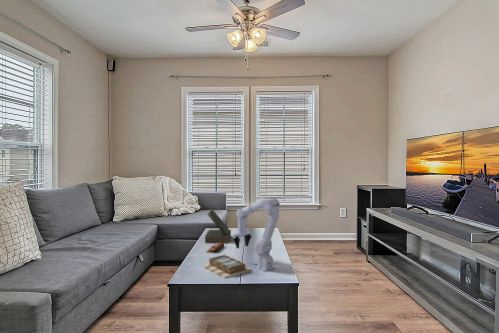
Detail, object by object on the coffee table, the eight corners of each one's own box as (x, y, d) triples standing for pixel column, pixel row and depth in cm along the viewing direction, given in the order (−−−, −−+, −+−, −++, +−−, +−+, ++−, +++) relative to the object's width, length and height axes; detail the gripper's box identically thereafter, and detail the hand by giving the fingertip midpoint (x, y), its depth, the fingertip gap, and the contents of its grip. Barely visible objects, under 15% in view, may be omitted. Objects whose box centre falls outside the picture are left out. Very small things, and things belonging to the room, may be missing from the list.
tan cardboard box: (245, 269, 178) (245, 263, 178) (229, 274, 170) (229, 268, 170) (224, 260, 195) (224, 254, 195) (209, 263, 187) (209, 258, 187)
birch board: (251, 270, 180) (251, 268, 180) (224, 278, 167) (224, 276, 167) (228, 260, 198) (228, 258, 198) (202, 266, 185) (202, 265, 185)
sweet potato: (214, 245, 232) (218, 238, 232) (221, 250, 231) (225, 243, 230) (205, 252, 215) (210, 244, 214) (213, 257, 214) (217, 250, 213)
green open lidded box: (228, 243, 239) (228, 213, 239) (204, 243, 240) (204, 213, 239) (230, 236, 262) (231, 208, 262) (209, 236, 263) (209, 208, 262)
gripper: (246, 224, 204) (246, 243, 204) (229, 227, 195) (229, 247, 195) (253, 226, 198) (253, 246, 199) (236, 229, 189) (236, 250, 189)
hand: (242, 247), depth 196 cm, fingers open, 7 cm apart
